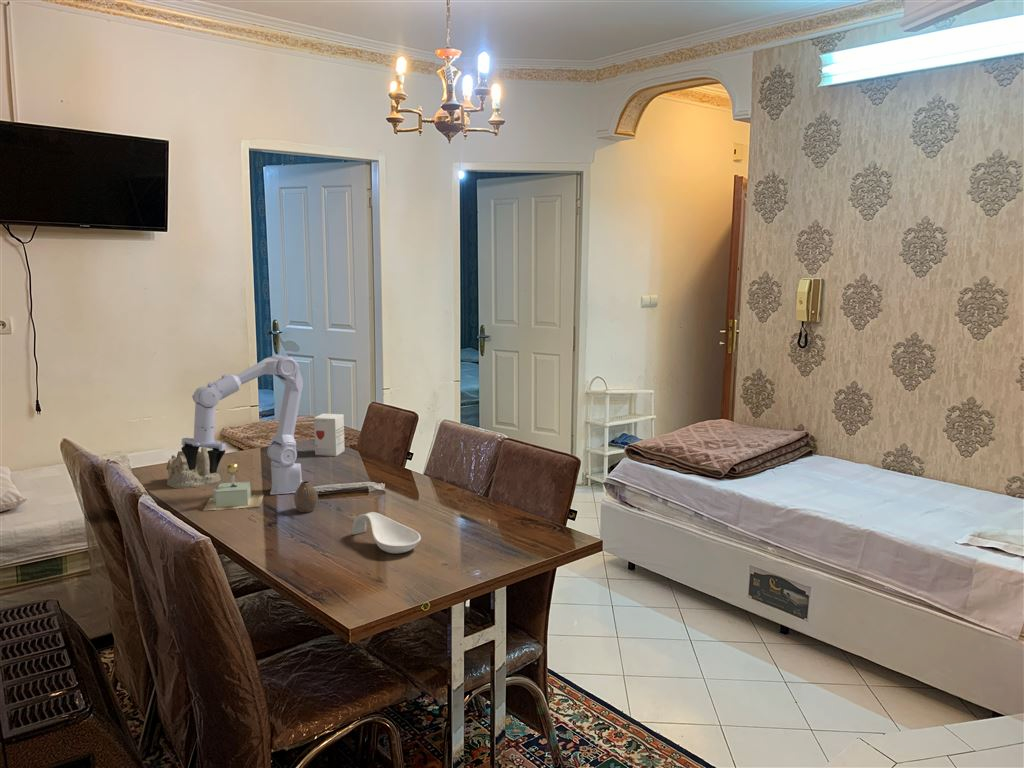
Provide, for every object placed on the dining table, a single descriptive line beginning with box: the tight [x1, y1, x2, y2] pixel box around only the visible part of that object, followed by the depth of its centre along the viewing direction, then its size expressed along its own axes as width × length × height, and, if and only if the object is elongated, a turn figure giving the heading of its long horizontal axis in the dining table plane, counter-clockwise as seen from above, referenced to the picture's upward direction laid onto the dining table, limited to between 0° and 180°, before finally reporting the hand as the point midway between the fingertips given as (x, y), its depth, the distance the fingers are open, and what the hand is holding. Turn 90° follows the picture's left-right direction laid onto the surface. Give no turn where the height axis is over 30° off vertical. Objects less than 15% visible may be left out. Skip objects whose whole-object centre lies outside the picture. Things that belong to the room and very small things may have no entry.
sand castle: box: [166, 445, 222, 490], centre depth 252 cm, size 16×16×15 cm
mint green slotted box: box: [212, 480, 252, 508], centre depth 229 cm, size 10×9×5 cm
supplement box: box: [313, 413, 345, 457], centre depth 290 cm, size 9×9×15 cm
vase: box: [293, 480, 319, 513], centre depth 222 cm, size 7×7×9 cm
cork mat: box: [203, 494, 264, 512], centre depth 230 cm, size 16×12×1 cm
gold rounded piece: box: [226, 462, 239, 487], centre depth 228 cm, size 7×7×8 cm
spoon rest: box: [351, 511, 422, 555], centre depth 195 cm, size 24×12×7 cm, turn 47°
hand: (202, 471), depth 225 cm, fingers open, 7 cm apart
